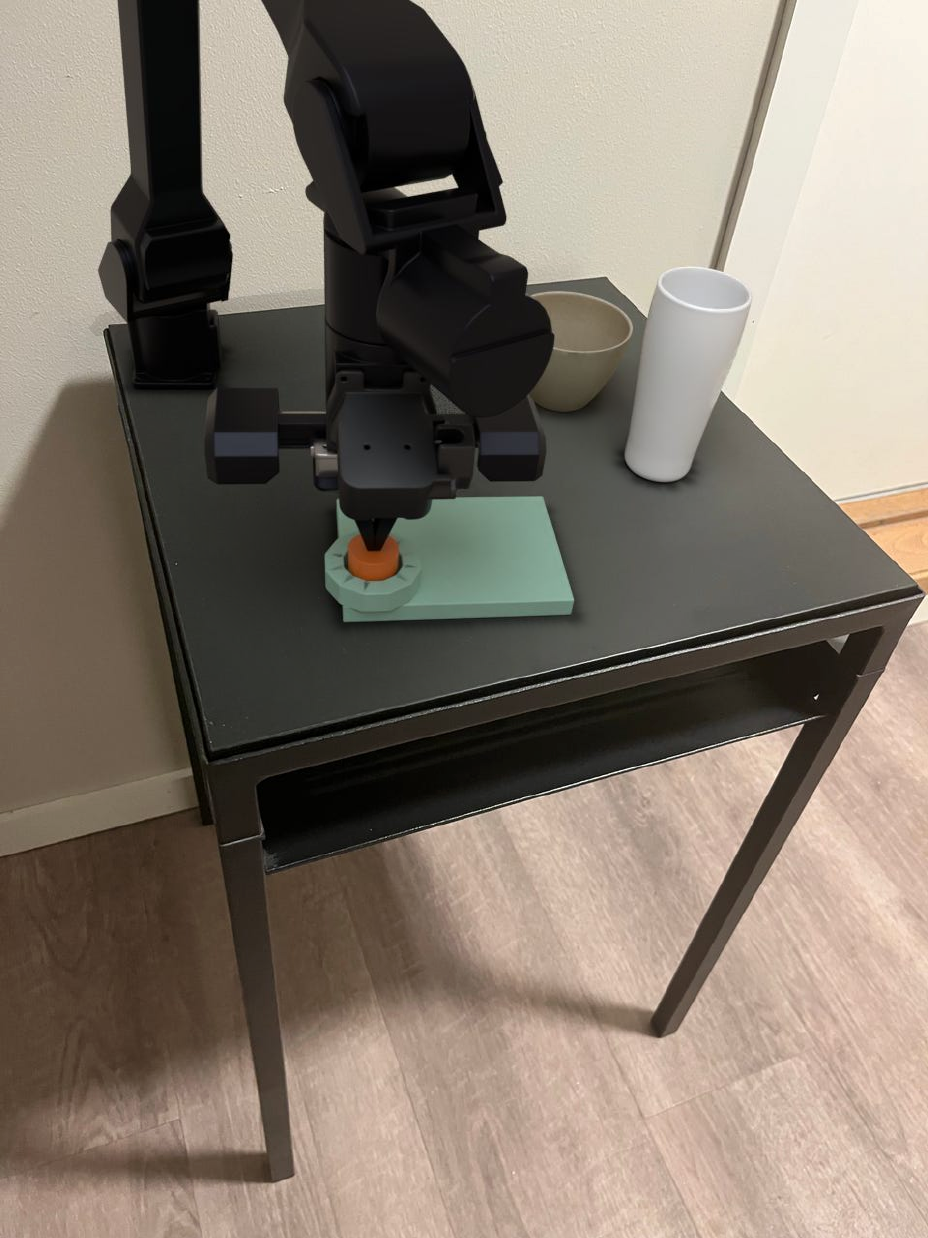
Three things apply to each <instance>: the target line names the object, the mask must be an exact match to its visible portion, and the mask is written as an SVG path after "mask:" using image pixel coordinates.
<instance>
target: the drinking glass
mask: <svg viewBox="0 0 928 1238" xmlns="http://www.w3.org/2000/svg"><path fill="white" fill-rule="evenodd" d="M752 303H753V292H752V291H751V288H749V286H748V285H747V284H746V283H744V282H743V281H742V280H740V279H739V278H737V277H735V276H733V275H731V274H729V273H726V272H723V271H721V270H718V269H714V268H709V267H704V266H703V267H702V266H693V265H691V266H690V265H689V266H678V267H673V268H669V269H666V270H665V271H664V272H662V273H661V274H660V275H659V276H658V278H657V280H656V284H655V288H654V292H653V294H652V298H651V301H650V305H649V309H648V314H647V317H646V320H645V321H646V322H645V326H644V331H643V335H642V343H641V350H640V356H639V363H638V369H637V370H638V371H637V377H636V385H635V390H634V391H635V392H634V397H633V404H632V411H631V418H630V425H629V431H628V436H627V441H626V443H625V448H624V460H625V463H626V465H627V467H628V468H629V469H630V470H631V471H632V472H633V473H634V474H636V475H637V476H639V477H641V478H643V479H646V480H648V481H652V482H657V483H671V482H675V481H679V480H681V479H683V478H685V476H686V475H687V474H688V473H689V472H690V470H691V468H692V465H693V462H694V459H695V456H696V453H697V450H698V447H699V445H700V442H701V440H702V437H703V436H704V432H705V430H706V428H707V425H708V423H709V420H710V419H711V415H712V413H713V412H714V409H715V406H716V403H717V401H718V399H719V396H720V394H721V392H722V390H723V387H724V385H725V383H726V380H727V378H728V376H729V373H730V370H731V368H732V366H733V364H734V361H735V358H736V356H737V353H738V350H739V347H740V344H741V341H742V338H743V335H744V332H745V328H746V326H747V322H748V319H749V314H750V312H751V311H750V310H751V307H752Z"/></svg>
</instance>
